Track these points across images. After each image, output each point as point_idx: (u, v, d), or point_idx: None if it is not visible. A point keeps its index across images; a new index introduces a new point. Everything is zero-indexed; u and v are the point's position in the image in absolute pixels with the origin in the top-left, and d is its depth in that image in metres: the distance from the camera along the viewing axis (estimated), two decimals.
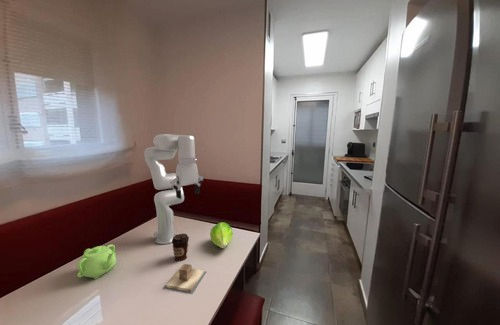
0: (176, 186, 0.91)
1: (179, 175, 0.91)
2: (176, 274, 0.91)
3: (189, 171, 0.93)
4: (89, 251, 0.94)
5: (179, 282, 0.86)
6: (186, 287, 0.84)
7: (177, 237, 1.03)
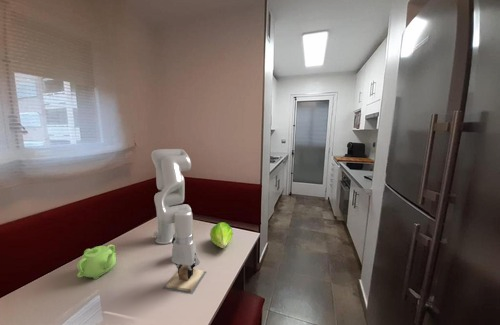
0: (193, 263, 0.89)
1: (196, 250, 0.88)
2: (176, 274, 0.91)
3: None
4: (89, 251, 0.94)
5: (179, 282, 0.86)
6: (186, 287, 0.84)
7: None
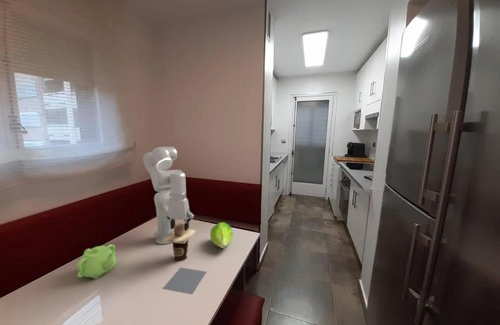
0: (189, 218, 1.02)
1: (188, 207, 1.02)
2: (171, 232, 1.06)
3: None
4: (89, 251, 0.94)
5: (174, 237, 1.01)
6: (180, 240, 0.98)
7: None
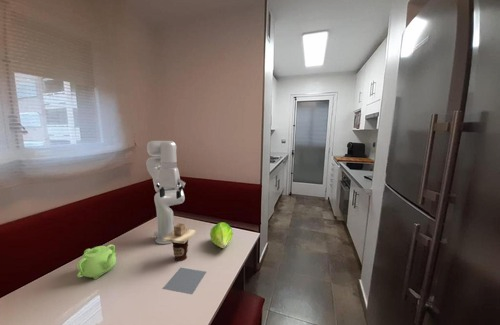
0: None
1: (179, 176, 1.03)
2: (171, 232, 1.06)
3: None
4: (89, 251, 0.94)
5: (174, 237, 1.01)
6: (180, 240, 0.98)
7: None
